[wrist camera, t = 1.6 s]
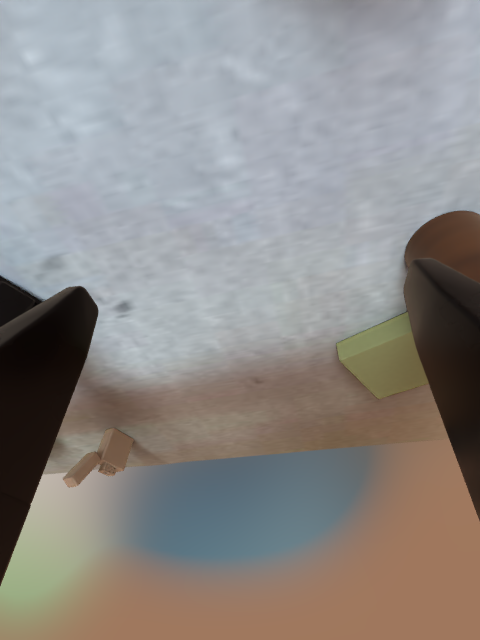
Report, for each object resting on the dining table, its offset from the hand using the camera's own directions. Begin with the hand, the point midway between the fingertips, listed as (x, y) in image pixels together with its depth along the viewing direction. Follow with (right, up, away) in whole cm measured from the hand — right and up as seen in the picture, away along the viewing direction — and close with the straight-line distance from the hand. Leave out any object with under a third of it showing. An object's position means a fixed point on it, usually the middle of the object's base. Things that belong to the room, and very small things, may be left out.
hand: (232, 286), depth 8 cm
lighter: (-18, -17, +35) cm, 42 cm away
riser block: (+14, -4, +19) cm, 23 cm away
